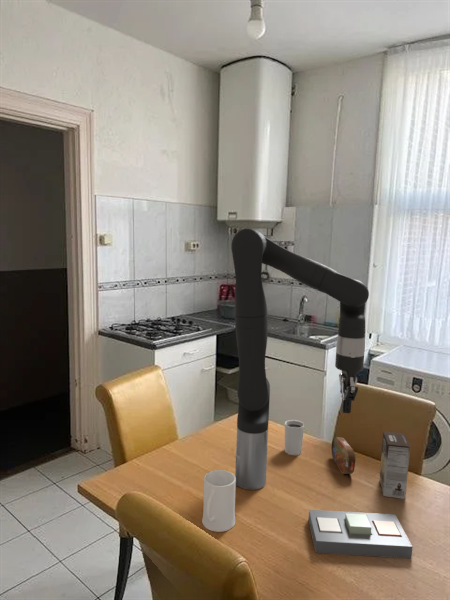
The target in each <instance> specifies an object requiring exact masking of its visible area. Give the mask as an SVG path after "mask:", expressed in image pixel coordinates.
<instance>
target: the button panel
mask: <svg viewBox="0 0 450 600" xmlns="http://www.w3.org/2000/svg"><path fill="white" fill-rule="evenodd" d="M346 513H348V514H366V516H367V518H368V521H369V523H370V525H371V535H359V534H349V533H348V530H347V527H346V524H345V515H346ZM317 517H320V518H337V520H338V523H339V526H340V529H341V533H325V532H319V529H318V525H317ZM373 520H374V521H392V522H394V523H395V525H396V527H397V529H398V531H399V533H400V534H401V537H394V536H378V533H377V531H376V529H375V527H374V524H373ZM308 524H309V529H310V533H311V537H312V542H313V543H312V544H313V547H314V550H315V553H317V554H329V555H331V554H333V555H347V556H349V555H350V556H363V557H364V556H365V557H382V558H395V559H396V558H397V559H412V558H413V557H412V556H413V545H412V543H411V541H410V539H409V537H408V536H407V534H406V532H405V530H404V528H403V526H402V524H401V523H400V521H399V519H398V517H397V516H396V514H395V513H393V514H392V513H375V512H357V511H341V510H340V511H339V510H323V509H322V510H321V509H308Z"/></svg>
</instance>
